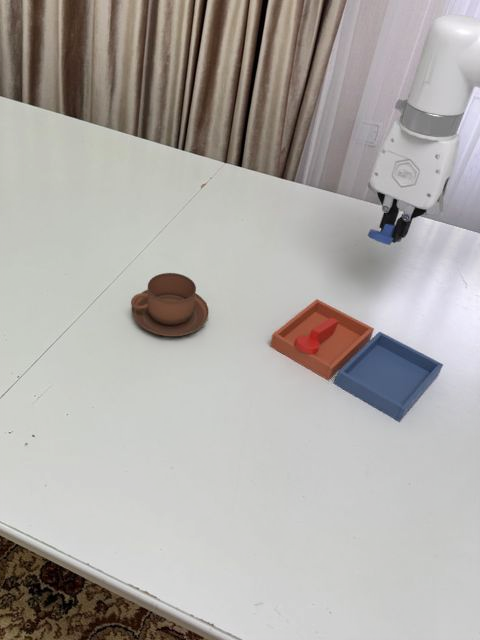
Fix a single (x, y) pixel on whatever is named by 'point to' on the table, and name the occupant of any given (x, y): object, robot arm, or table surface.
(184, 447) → the table surface
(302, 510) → the table surface
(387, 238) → the blue spoon
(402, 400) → the slate tray
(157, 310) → the cup and saucer
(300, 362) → the terracotta tray
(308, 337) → the red spoon
